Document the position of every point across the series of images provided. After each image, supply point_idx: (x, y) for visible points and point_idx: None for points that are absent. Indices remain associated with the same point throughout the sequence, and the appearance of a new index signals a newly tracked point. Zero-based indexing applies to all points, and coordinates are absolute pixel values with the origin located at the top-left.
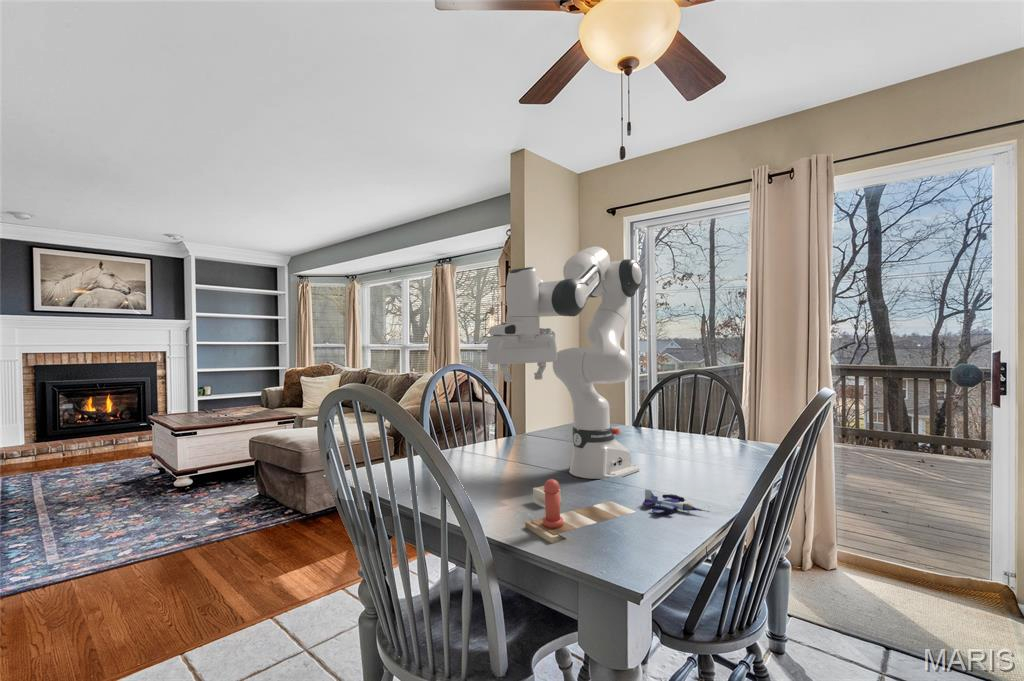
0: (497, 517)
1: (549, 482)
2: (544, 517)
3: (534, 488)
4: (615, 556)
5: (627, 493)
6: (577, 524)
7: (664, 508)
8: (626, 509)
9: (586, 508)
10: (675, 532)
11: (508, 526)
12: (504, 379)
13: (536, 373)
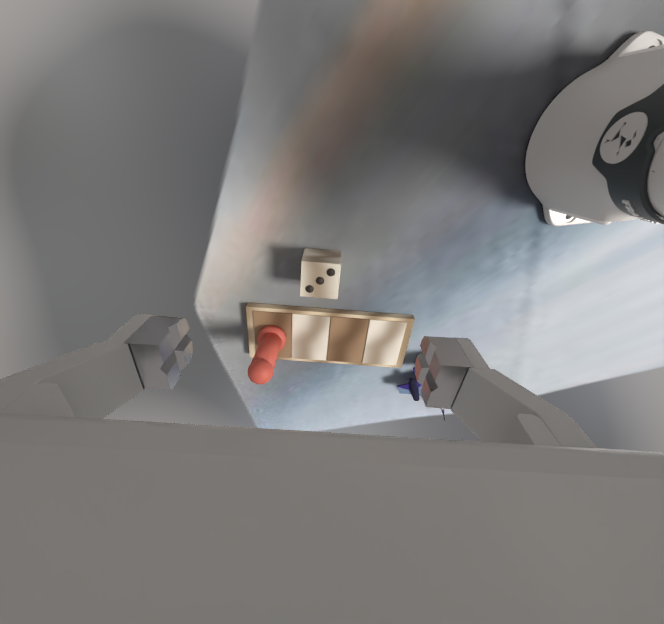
0: (228, 246)
1: (251, 380)
2: (264, 330)
3: (302, 264)
4: (290, 401)
5: (483, 294)
6: (300, 352)
7: (412, 394)
8: (393, 354)
9: (353, 322)
10: (387, 402)
11: (228, 285)
12: (132, 321)
13: (437, 382)
